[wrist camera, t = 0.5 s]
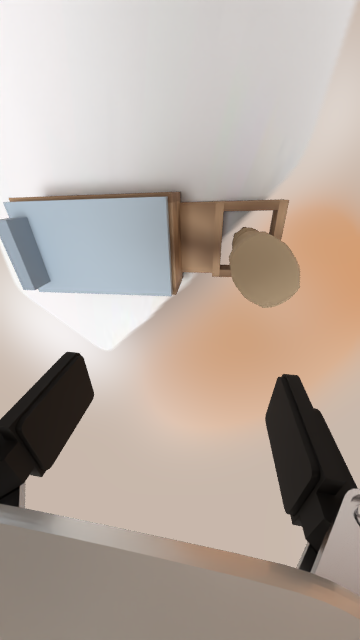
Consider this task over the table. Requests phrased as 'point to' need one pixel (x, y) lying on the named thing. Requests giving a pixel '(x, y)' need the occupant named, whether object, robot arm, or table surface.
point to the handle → (263, 268)
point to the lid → (90, 245)
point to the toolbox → (195, 229)
